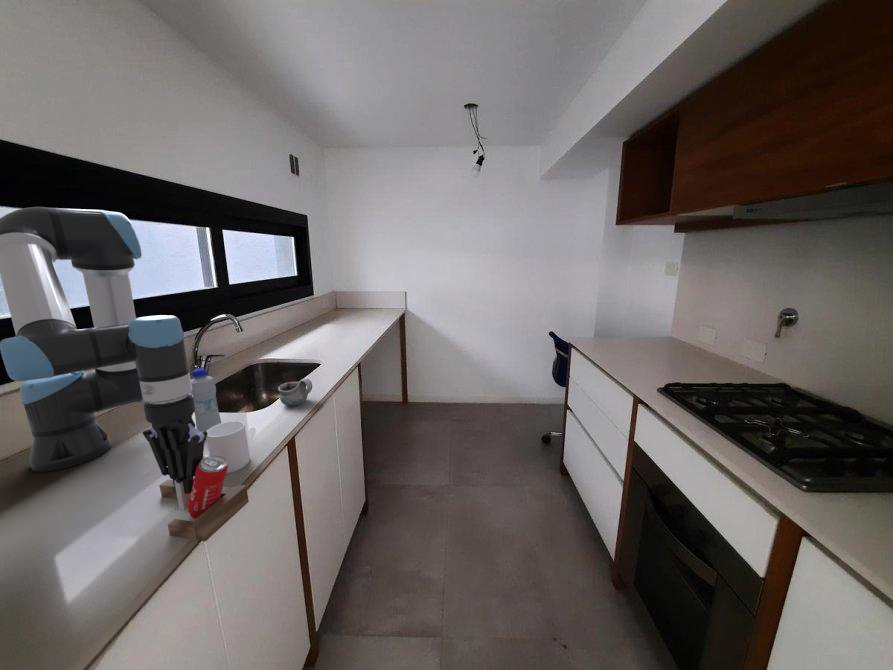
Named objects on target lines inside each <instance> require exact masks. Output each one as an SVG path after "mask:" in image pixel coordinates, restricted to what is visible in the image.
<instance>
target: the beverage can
mask: <svg viewBox="0 0 893 670" xmlns="http://www.w3.org/2000/svg"><path fill="white" fill-rule="evenodd" d="M207 456H208V457H205V458H203V459H202V460H201V461H200V462H199V464H198V465H197V468H196V473H195V476H194V482H193V487H192V491H191V496H190V501H189V506H188V508H187V512H188V513H189V516H190V517H191V518H192V519H194V520H195V519H196V518H198V517H199V516H200V515H201V514H203V513H204V512H205V511H206V510H207V509H209V508H210V507H211V506H212V505H214V504H215V503H216V502H217V501H218V500H220V497H221V493H222V488H223V487H224V484H225V479H226V475H227V474H226V472H227V467H228V465H227V461H226V459H225V458H223V457H221V456H210V455H207Z"/></svg>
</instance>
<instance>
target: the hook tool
mask: <svg viewBox="0 0 893 670" xmlns="http://www.w3.org/2000/svg"><path fill="white" fill-rule="evenodd" d="M158 486H159V491H160V494H161V498H167V499H173V500H174V499H175V500H178V498H177V493H176V492H175V489H174V484H173V480H172V479H166V480H165V481H163V482H162V483H160V484H159V485H158ZM248 503H249V494H248V489H247V485H246V484H237V485H235V487H231V486H230V487H229V486H223V488H222V493H221V497H220V500H218V501H217V502H216V503H215V504H214V505H212V506H211V507H210V508H209V509H207V510H206V511H205V512H204V513H203V514H201V515H200V516H199V517H198V518H196V519H194V520H193V521H192V520H187V519H179V518H174V519H173V520H171V521H170V522H169V523H167V525H166V526H167V527H168V528H167V529H168V532H169V537H171V536H172V537H175V538H183V539H189V540H195V541H202V542H207V540H209V539H210V538H211V537H212V536H213V535H214V534H216V533H217V532H218V531H219V530H220V529H221V528H222V527H223V526H225V524H227V522H229V521H230V520H231V519H232V518H233V517H234V516H235V515H236V514H237V513H239V512H240V511H241V510H242V509H243V508H244V507H245V506H246V505H247V504H248Z"/></svg>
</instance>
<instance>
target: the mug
mask: <svg viewBox="0 0 893 670" xmlns="http://www.w3.org/2000/svg"><path fill="white" fill-rule="evenodd" d="M277 389H278V391H279V400H280V402H281V404H282V405H284V406H288V407H295V406H299V405H301V404H303V403H304V402H305V401H306V400H307V399H308V396H309V394H310V393H311V392H312V389H313V382H312V381H311V379H309V378H306V377H305V378H302V379H300V380H299V381H289V382H285V383H282V384H280V385H279V386H278V387H277Z"/></svg>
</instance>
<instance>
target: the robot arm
mask: <svg viewBox="0 0 893 670" xmlns="http://www.w3.org/2000/svg"><path fill="white" fill-rule="evenodd" d="M142 254H143V253H142V248H141V244H140V241H139V237H138V235H137V233H136V229H135V228H134V226H133V224H132V222H131V221H130V219H129V218H128V217H127V216H126V215H125V214H123V213H122V212H118V211H109V210H103V209H85V208H84V209H81V208H65V207H63V208H59V207H45V206H33V207H32V206H31V207H24V208H20V209H16V210H13V211H12V212H9V213H6V214H5V215H3V216H1V217H0V279H1V283H2V286H3V291H4V294H5V295H4V296H5V298H6V303H7V305H8V310H9V313H10V317H11V322H12V326H13V329H14V333H15V335H14V336H13V337H8V338H6V337H5V338H4V339H1V341H0V355H1V358H2V360H3V365H4V366H5V367H4V368H5V370H6V373H7V376H8V377H9V378H10V379H11V380H13V381H16V382H23V381H25V382H23V383H22V384H21V385H20V387H19V392H20V398H21V401H20V403H21V404H22V405H23V406H24V407H23V408H24V410H25V415H26V417H27V421H28V424H29V429H30V430H31V435H32V438H33V439H32V444H31V448H30V455H29V460H28V462H29V464H30V465H29V466H30V468H31V470H32V471H34V472H43V473H44V472H51V471H59V470H63V469H67V468H70V467H75V466H78V465H80V464H83V463H86V462H88V461H90V460H93V459H95V458H98V457H99V456H101V455H103V454H104V453H106V452H107V451H108V450H109V449H110V448H112V447H111V446H112V443H111V442H112V441H111V439H110V436H109V434H108V433H107V432H106V431H105V430H104V429H103V427H101V425H100V424H99V423H98V422H97V420H96V416H95V413H99V412H103V411H104V412H105V411H108V410H110V409H115V408H119V407H123V406H128V405H131V404H136V403H137V404H138V403H141V402H143V401H144V403H143V410H144V415H145V420H146V421H147V423H149V424H151V427H150V428H147V429H146V430H143V431H142V435H143V437H144V438H145V439H146V440H147V442H148V444H149V446H150V449H151V451H152V453H153V456H154V458H155V460H156V463H157V466H158V468H159V470H160V473H161V475H162V476H169V478H170V480H173V484H174V489H175V492H176V493H177V498H178V499H177V502H178V503H177V504H178V508H179V510H181V511H185V510H186V509H187V510H188V506H189V501H190V496H191V491H192V487H193V482H194V477H195V473H196V468H197V465H198V464H199V462H200V461H201V460H202V459H203V454H204V453H205V452H204V449H205V441H206V440H207V439H206V437H207V435H208V433H207V432H206V431H202V432H200V431H198V430H197V427H196V422H195V421H194V419H193V415H194V414H195V413H194V411H195V405H194V398H193V395H192V394H191V393H190V392H191V391H192V385H191V380H192V379H191V376H190V375H191V374H190V370H189V365H188V358H187V352H186V345H185V339H184V337H185V333H184V330H183V328H182V324H181V321H180V318H178V317H177V316H175V315H166V314H164V315H163V314H160V315H159V314H158V315H148V316H140V317H137V315H136V311H135V310H136V309H135V305H134V299H133V292H132V288H131V287H132V285H131V280H130V272H131V271H132V270H133V269H135V267H136V264H135V260H138V259H139V260H140V259H141V258H142V256H143V255H142ZM56 260H58V261H59V260H60V261H66V260H67V261H69V260H70V261H71V265H72V268H74V269H76V270H77V271H79V272H80V273H82V277H83V280H84V285H85V290H86V295H87V299H88V304H89V309H90V313H91V318H92V323H93V327H89V328H82V329H80V328H79V329H78V328H77V326H76V323H75V320H74V317H73V314H72V310H71V309H70V306H69V303H68V300H67V297H66V294H65V291H64V289H63V286H62V283H61V280H60V278H59V275H58V273H57V269H56V267H55V264H54V263H55V262H56Z"/></svg>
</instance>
